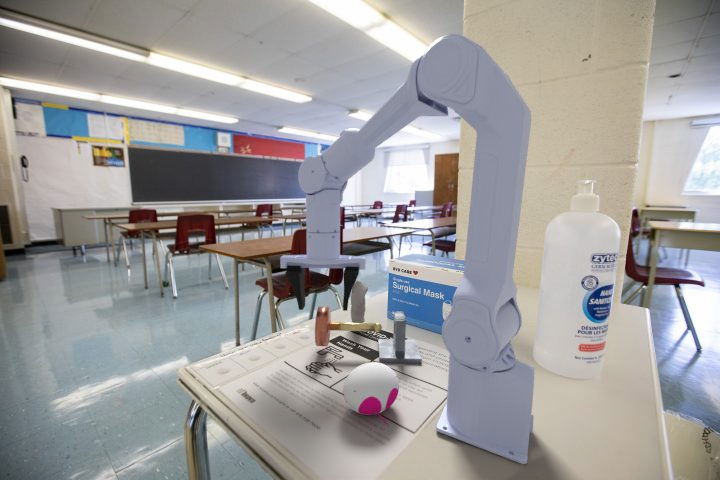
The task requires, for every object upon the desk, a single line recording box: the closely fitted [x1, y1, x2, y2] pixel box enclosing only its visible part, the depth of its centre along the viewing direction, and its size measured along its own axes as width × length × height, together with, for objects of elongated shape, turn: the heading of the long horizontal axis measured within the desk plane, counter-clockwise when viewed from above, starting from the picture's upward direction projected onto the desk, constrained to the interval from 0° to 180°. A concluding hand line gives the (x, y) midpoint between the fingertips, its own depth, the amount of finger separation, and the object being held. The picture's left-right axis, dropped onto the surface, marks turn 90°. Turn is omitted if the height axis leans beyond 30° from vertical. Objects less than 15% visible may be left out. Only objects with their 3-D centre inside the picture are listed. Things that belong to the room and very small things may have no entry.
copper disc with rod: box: [314, 306, 383, 347], centre depth 54 cm, size 11×7×7 cm, turn 88°
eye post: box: [377, 310, 423, 364], centre depth 54 cm, size 7×7×7 cm
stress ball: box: [342, 361, 400, 426], centre depth 40 cm, size 8×8×7 cm
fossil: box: [350, 280, 369, 323], centre depth 66 cm, size 6×4×10 cm, turn 168°
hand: (323, 308), depth 54 cm, fingers open, 7 cm apart
